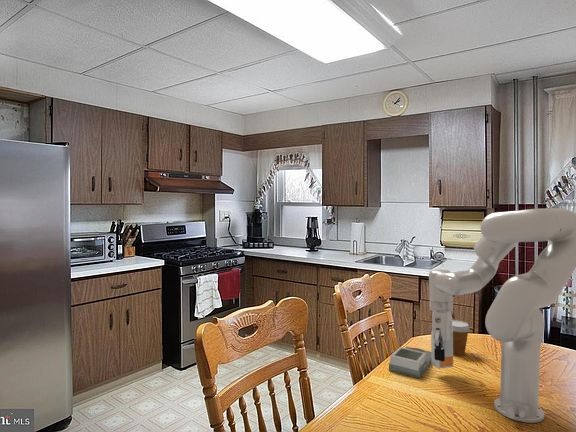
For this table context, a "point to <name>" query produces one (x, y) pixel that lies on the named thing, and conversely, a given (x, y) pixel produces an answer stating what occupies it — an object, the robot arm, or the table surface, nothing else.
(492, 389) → the table surface
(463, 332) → the disposable coffee cup
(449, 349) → the skincare box
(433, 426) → the table surface
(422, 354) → the divided tray with ball
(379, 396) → the table surface
